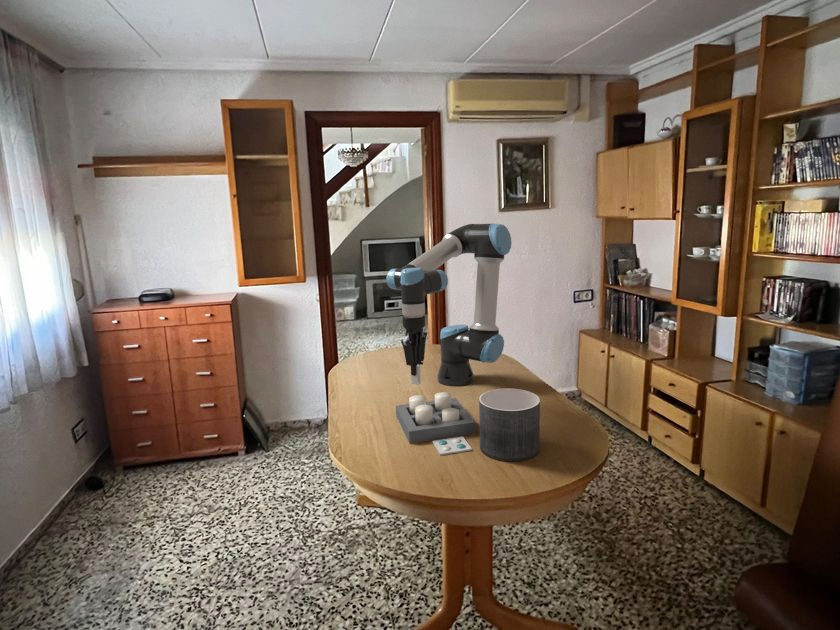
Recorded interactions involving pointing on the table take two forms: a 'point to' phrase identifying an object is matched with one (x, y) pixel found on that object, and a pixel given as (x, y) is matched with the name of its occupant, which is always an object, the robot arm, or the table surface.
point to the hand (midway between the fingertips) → (416, 383)
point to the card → (451, 445)
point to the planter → (509, 424)
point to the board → (435, 424)
